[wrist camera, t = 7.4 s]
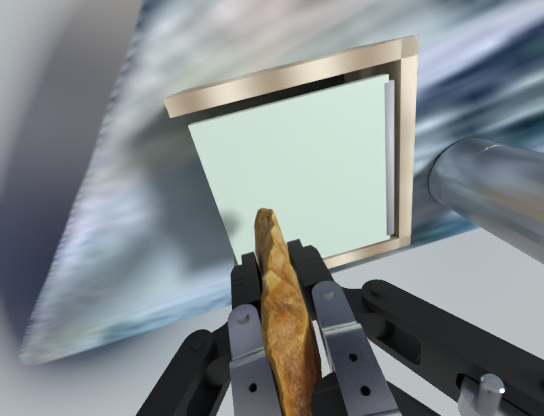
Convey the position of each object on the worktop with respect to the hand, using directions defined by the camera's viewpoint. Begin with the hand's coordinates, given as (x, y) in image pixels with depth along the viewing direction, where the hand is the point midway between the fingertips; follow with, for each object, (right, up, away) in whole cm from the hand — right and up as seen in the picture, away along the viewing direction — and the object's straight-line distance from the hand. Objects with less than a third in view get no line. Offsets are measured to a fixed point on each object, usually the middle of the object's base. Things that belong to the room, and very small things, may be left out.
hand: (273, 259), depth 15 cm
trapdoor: (+3, +5, +7) cm, 9 cm away
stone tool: (0, +2, +4) cm, 4 cm away
